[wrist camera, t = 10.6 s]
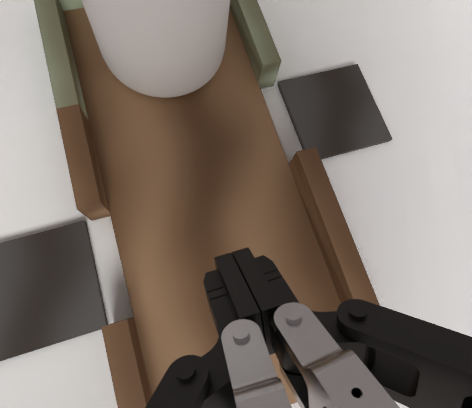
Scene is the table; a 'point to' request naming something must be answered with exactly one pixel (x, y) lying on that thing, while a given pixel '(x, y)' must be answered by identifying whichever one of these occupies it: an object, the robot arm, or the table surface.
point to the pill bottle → (160, 42)
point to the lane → (184, 198)
